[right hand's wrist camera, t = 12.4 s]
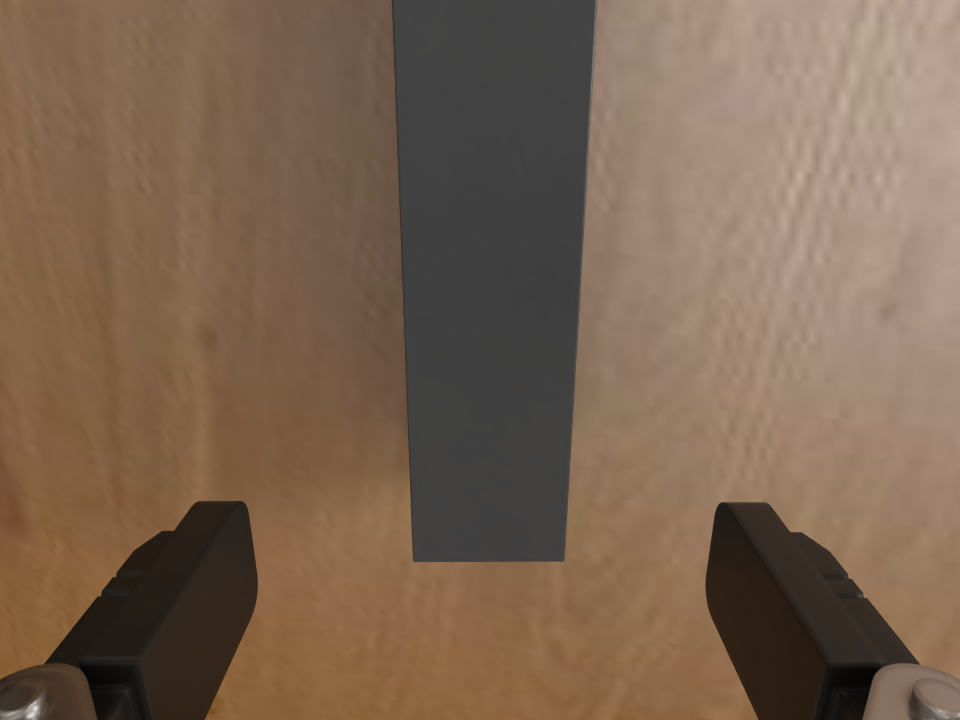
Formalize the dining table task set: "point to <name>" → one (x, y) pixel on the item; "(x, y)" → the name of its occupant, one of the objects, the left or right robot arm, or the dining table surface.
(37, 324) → the dining table surface
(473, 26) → the bar
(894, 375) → the dining table surface
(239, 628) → the right robot arm
